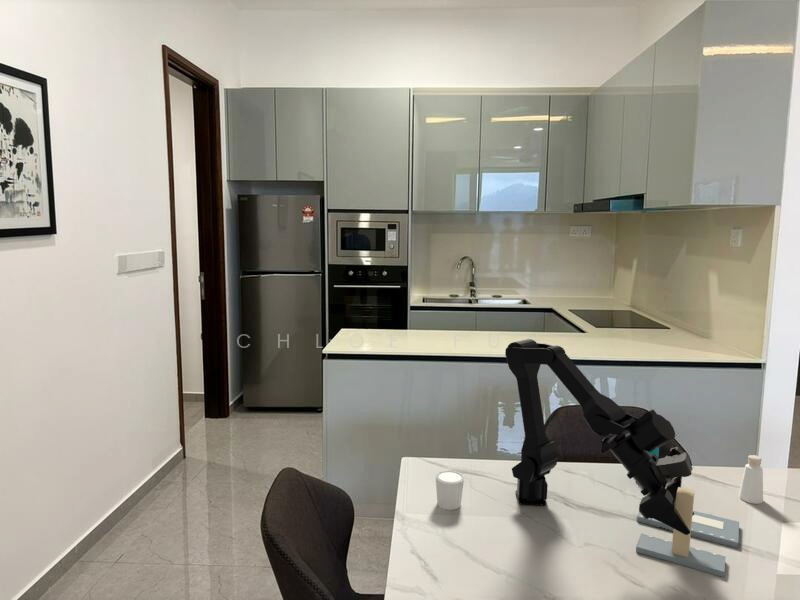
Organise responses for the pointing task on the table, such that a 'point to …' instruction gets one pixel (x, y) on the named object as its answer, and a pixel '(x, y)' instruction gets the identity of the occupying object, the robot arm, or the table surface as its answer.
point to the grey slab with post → (682, 542)
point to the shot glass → (449, 489)
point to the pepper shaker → (752, 481)
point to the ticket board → (706, 528)
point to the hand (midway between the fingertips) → (690, 524)
